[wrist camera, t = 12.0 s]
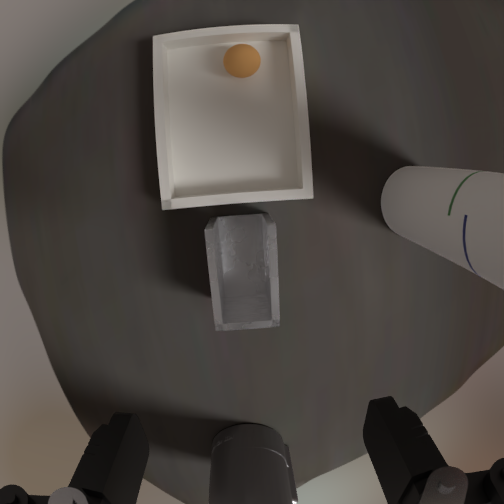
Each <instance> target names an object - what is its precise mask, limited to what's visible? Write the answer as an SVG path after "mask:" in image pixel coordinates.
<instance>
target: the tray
mask: <svg viewBox="0 0 504 504" xmlns="http://www.w3.org/2000/svg"><path fill="white" fill-rule="evenodd" d="M237 44H248V45H250V46H252V47H254V48H255V49H256V50H257V51H258V53H259V55H260V58H261V63H260V67H259V69H258V70H257V71H256V72H255V73H254V74H253V75H251V76H249V77H246V78H238V77H234V76H232V75H231V74H229V73H228V72H227V71H226V69H225V67H224V64H223V58H224V55H225V53H226V51H227V50H228V49H229V48H230V47H232V46H234V45H237ZM153 89H154V114H155V133H156V148H157V161H158V173H159V184H160V194H161V203H162V210H169V209H179V208H189V207H200V206H211V205H222V204H235V203H248V202H262V201H277V200H293V199H312V198H313V180H312V161H311V145H310V131H309V118H308V106H307V95H306V85H305V75H304V65H303V57H302V48H301V40H300V32H299V25H290V24H261V25H237V26H223V27H212V28H202V29H194V30H187V31H180V32H173V33H167V34H161V35H156V36H153Z"/></svg>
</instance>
